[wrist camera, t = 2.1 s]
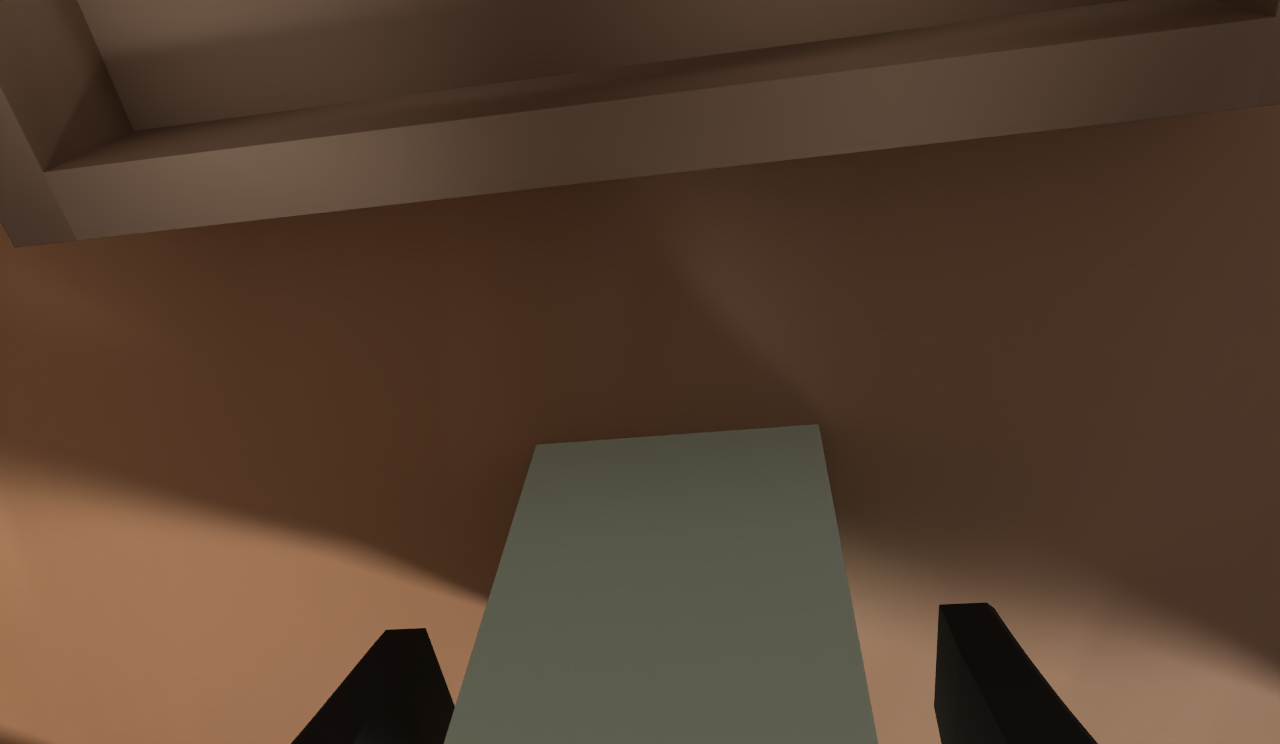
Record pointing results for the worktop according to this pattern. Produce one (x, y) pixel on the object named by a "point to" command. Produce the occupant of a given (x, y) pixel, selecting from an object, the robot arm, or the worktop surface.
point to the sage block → (670, 600)
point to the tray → (553, 93)
